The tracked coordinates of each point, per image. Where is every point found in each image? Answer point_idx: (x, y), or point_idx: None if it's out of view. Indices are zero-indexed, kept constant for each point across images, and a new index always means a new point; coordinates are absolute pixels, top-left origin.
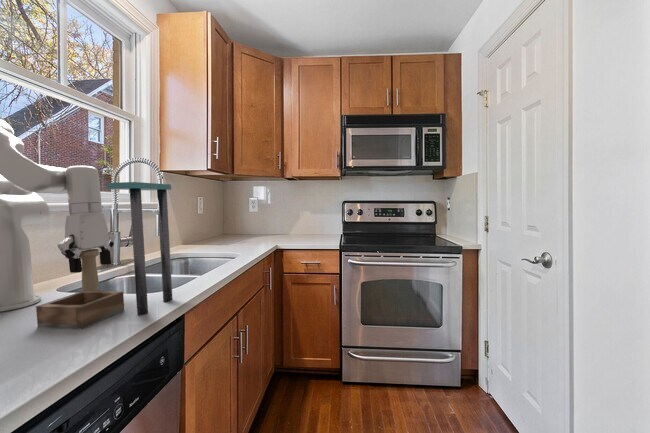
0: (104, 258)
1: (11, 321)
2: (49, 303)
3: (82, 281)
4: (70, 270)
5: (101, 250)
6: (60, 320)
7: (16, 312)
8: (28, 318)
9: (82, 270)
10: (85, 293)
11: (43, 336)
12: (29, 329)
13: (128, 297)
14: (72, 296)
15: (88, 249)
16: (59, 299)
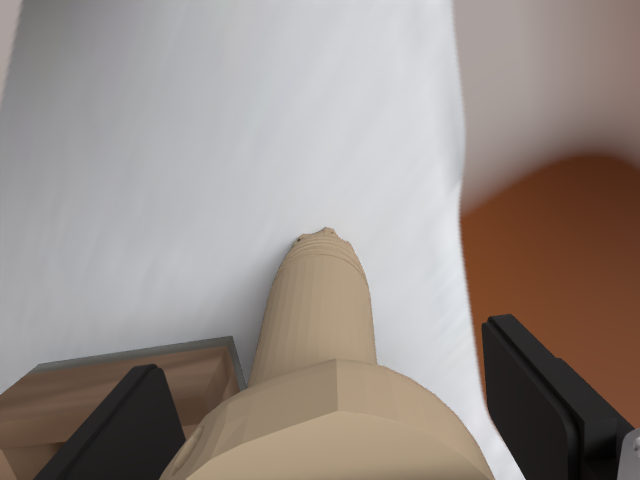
0: (516, 419)
1: (6, 175)
2: (9, 444)
3: (267, 301)
4: (129, 380)
5: (618, 463)
6: None
7: (64, 24)
8: (60, 211)
9: (256, 350)
10: (186, 433)
11: None
12: (17, 354)
13: (415, 377)
14: None
15: (416, 474)
16: (60, 427)
